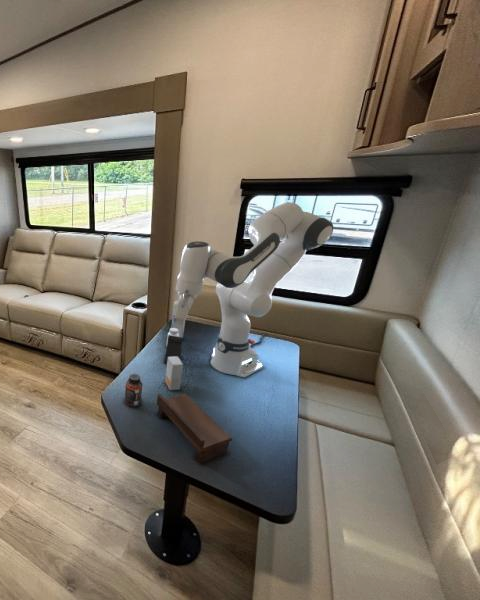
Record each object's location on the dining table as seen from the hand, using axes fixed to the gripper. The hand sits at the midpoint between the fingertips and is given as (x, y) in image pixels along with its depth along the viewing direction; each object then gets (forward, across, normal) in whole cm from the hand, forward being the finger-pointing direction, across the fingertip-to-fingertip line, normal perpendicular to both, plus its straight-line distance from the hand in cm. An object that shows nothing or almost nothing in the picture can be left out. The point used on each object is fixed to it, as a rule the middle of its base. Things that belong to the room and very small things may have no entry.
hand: (181, 322), depth 118 cm
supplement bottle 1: (+30, -16, +10) cm, 35 cm away
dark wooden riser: (+29, -22, -11) cm, 38 cm away
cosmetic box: (+28, 0, -1) cm, 29 cm away
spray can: (+27, +43, +5) cm, 51 cm away
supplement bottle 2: (+28, +32, +5) cm, 43 cm away
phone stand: (+28, +20, +2) cm, 35 cm away
